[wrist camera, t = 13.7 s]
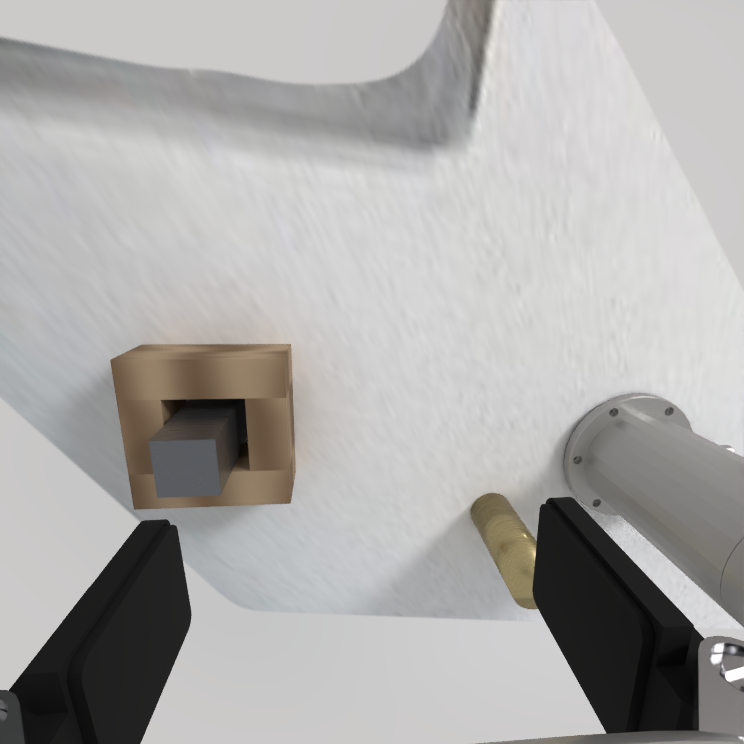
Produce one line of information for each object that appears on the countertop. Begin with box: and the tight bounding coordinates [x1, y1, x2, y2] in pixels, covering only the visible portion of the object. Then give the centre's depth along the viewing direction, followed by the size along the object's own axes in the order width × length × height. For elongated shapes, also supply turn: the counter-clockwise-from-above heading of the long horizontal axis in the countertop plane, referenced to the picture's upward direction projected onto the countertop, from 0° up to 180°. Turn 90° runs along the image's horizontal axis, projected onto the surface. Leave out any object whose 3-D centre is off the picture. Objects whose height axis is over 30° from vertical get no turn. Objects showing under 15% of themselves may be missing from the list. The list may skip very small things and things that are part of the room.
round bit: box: [471, 493, 538, 609], centre depth 37 cm, size 4×4×10 cm
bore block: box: [110, 344, 296, 509], centre depth 34 cm, size 12×12×5 cm
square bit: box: [149, 399, 248, 498], centre depth 31 cm, size 4×4×10 cm
